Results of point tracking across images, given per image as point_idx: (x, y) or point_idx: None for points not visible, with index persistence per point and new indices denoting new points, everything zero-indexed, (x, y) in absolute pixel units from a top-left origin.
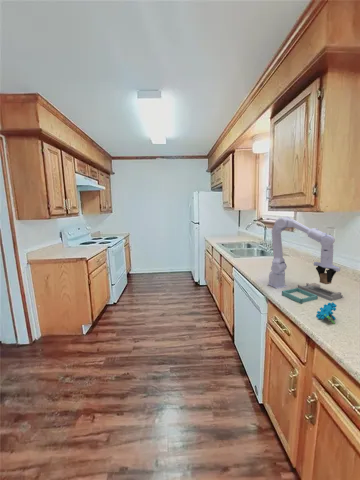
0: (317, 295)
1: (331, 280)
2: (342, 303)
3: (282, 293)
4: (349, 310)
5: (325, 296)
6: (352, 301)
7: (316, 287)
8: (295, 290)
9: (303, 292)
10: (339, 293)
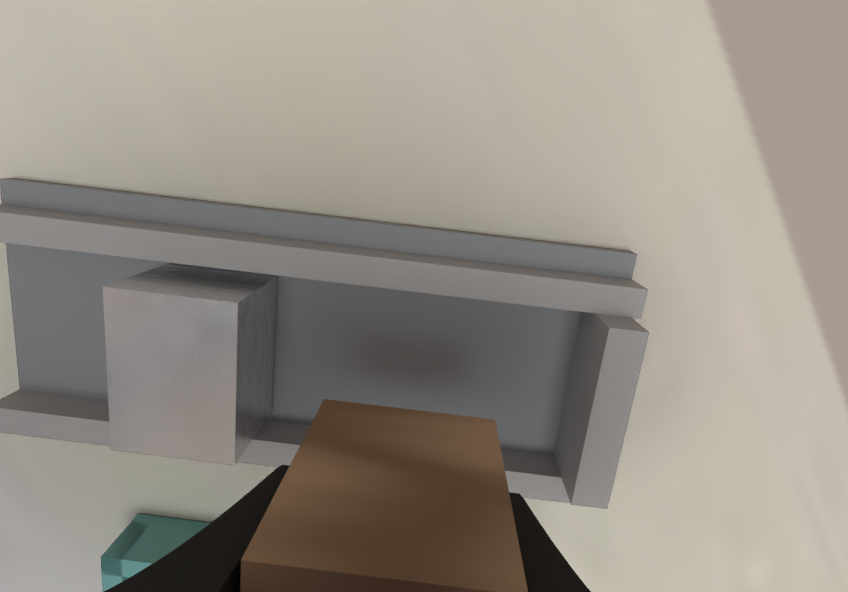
0: None
1: (532, 517)
2: (690, 418)
3: None
4: (827, 540)
5: None
6: (750, 248)
7: (249, 383)
8: None
9: None
10: (638, 372)
